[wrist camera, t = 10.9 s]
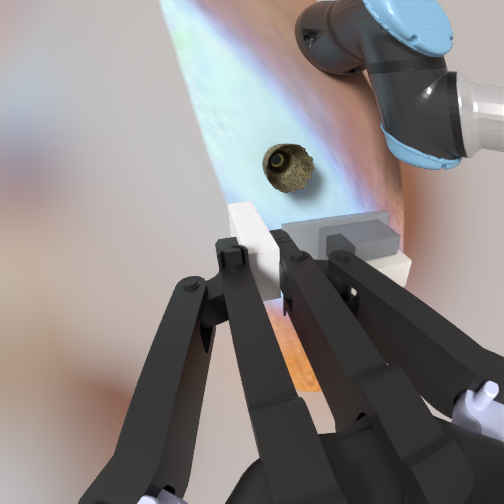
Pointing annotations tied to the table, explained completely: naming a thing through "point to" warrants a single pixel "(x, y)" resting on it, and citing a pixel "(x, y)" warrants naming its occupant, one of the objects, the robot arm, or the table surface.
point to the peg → (392, 267)
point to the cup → (288, 167)
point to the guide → (346, 235)
